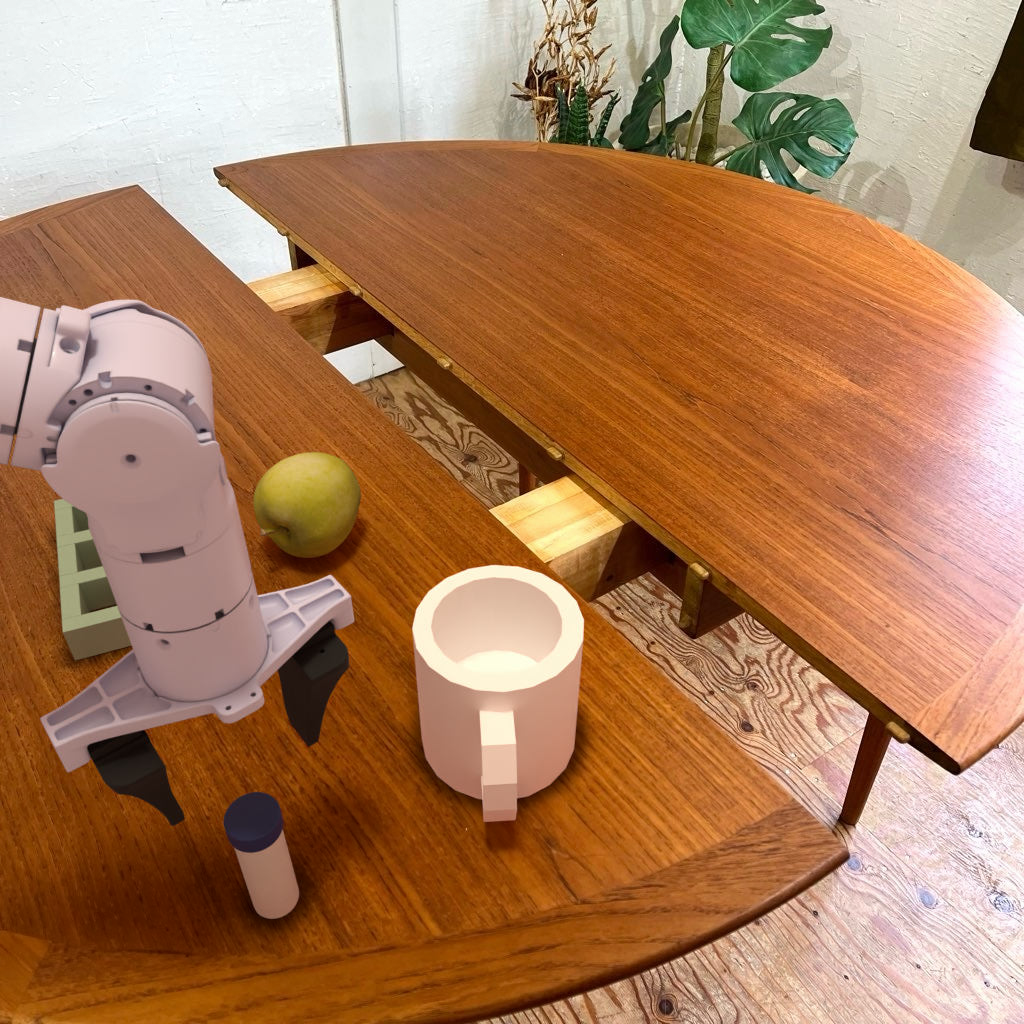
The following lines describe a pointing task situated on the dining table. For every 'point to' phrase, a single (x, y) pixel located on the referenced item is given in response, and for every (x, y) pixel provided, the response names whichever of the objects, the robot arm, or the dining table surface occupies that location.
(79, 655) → the tube rack
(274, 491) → the apple
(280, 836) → the test tube
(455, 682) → the mug
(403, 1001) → the dining table surface
